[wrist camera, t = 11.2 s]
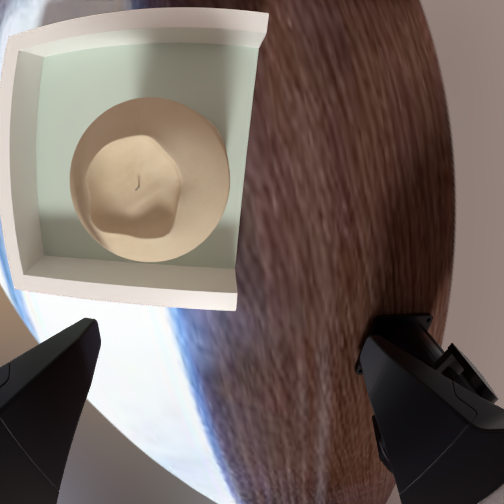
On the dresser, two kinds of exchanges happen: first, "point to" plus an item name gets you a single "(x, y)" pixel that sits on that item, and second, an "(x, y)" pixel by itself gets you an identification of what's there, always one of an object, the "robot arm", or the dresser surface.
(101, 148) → the candle
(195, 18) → the box
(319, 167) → the dresser surface
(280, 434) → the dresser surface
